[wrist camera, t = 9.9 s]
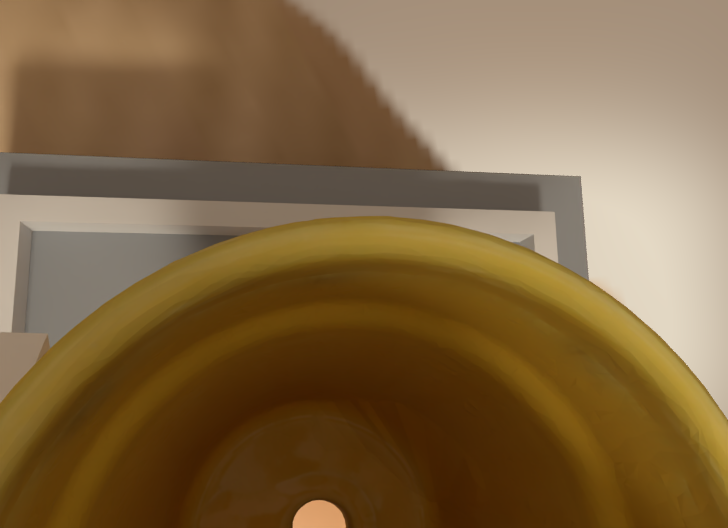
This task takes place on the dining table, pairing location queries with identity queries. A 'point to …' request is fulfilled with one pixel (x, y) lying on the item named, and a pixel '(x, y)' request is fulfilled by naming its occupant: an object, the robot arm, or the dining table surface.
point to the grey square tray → (230, 225)
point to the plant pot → (363, 394)
